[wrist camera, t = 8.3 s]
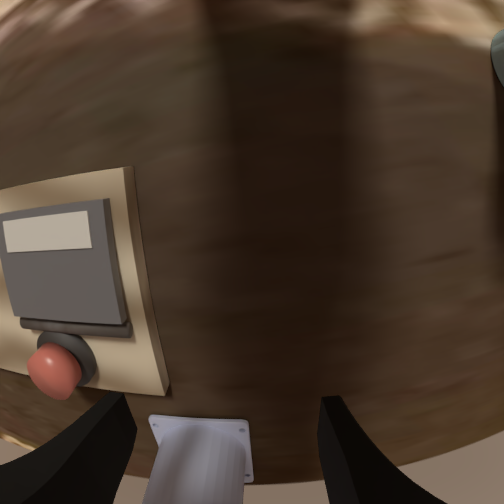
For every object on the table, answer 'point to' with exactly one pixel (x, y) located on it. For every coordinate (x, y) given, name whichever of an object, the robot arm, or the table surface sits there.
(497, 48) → the cup
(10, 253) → the paddle switch
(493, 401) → the table surface
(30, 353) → the control panel
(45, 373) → the push button
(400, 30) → the table surface
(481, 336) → the table surface
